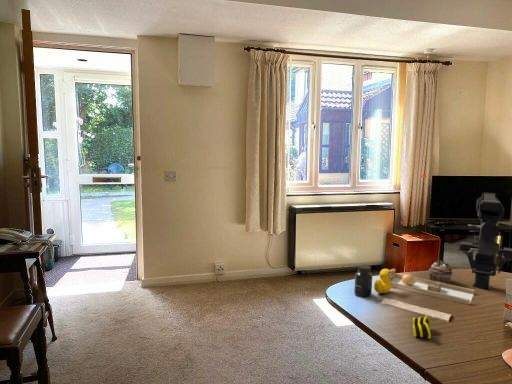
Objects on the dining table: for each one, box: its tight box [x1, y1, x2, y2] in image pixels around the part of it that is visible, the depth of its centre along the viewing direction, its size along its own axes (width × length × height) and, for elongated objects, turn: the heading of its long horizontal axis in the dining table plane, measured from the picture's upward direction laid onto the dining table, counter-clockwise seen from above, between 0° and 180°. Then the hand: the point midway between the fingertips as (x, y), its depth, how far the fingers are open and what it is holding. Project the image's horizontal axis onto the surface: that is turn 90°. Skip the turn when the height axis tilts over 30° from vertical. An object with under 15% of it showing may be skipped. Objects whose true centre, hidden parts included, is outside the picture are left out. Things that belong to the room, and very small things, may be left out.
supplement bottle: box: [353, 264, 373, 299], centre depth 150 cm, size 7×7×12 cm
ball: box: [402, 273, 414, 286], centre depth 161 cm, size 5×5×5 cm
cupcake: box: [428, 259, 453, 285], centre depth 166 cm, size 10×10×10 cm
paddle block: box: [428, 281, 441, 293], centre depth 155 cm, size 8×3×4 cm
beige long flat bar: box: [381, 297, 452, 323], centre depth 137 cm, size 24×7×2 cm, turn 52°
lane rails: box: [390, 268, 475, 305], centre depth 157 cm, size 14×34×4 cm, turn 53°
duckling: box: [373, 268, 394, 294], centre depth 153 cm, size 11×5×10 cm, turn 125°
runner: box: [391, 278, 475, 303], centre depth 156 cm, size 12×32×1 cm, turn 53°
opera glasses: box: [412, 316, 432, 340], centre depth 119 cm, size 10×5×5 cm, turn 155°
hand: (485, 270), depth 146 cm, fingers open, 9 cm apart
